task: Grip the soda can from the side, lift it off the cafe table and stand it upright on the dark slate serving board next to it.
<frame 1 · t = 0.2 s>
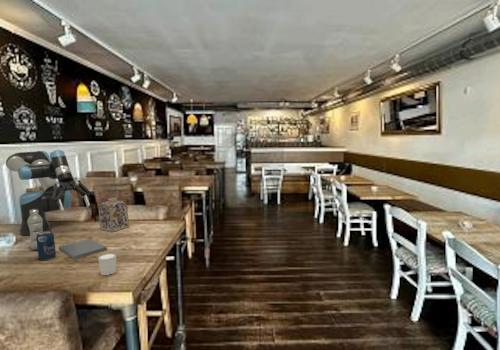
hand: (75, 208, 191), 15 cm above the table, tool tilted 35°, fingers open, 13 cm apart
plastic bottle: (38, 249, 173), on the table
slate board: (82, 249, 170), on the table
soda can: (47, 258, 161), on the table
decorative jar: (114, 228, 205), on the table
shot glass: (108, 273, 142), on the table
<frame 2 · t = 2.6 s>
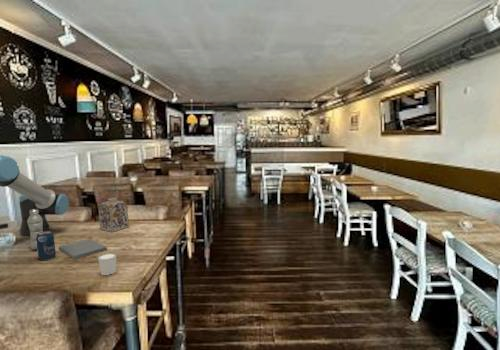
hand: (12, 220, 150), 20 cm above the table, tool horizontal, fingers open, 13 cm apart
nothing on the table moved.
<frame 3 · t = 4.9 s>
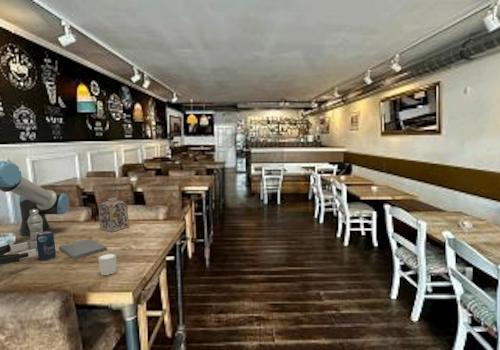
hand: (31, 248, 156), 6 cm above the table, tool horizontal, fingers open, 13 cm apart
nothing on the table moved.
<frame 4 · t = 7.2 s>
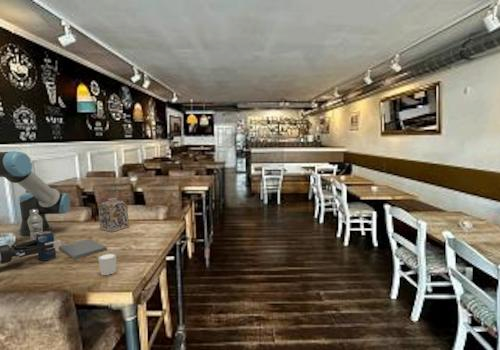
hand: (57, 241, 164), 7 cm above the table, tool horizontal, fingers closed on soda can, 7 cm apart
soda can: (47, 258, 161), on the table, touching gripper
everything else where it was.
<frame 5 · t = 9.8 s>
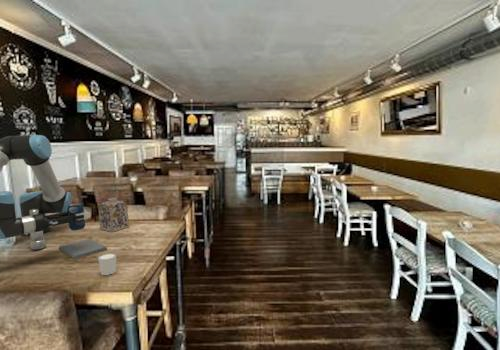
hand: (87, 213, 169), 18 cm above the table, tool horizontal, fingers closed on soda can, 7 cm apart
soda can: (77, 229, 167), point 11 cm above the table, touching gripper
everything else where it was.
when the fingers open (9 cm above the table, at t = 12.8 s): soda can drops 1 cm, resting on slate board.
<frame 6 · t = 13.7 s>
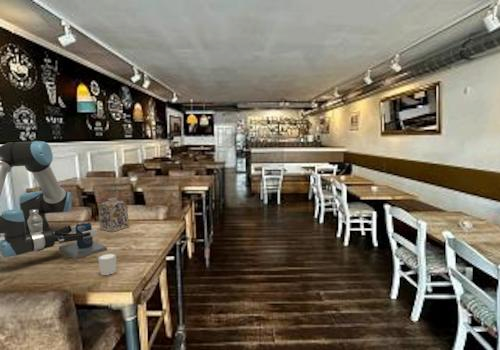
hand: (90, 229, 171), 10 cm above the table, tool horizontal, fingers open, 13 cm apart
soda can: (85, 247, 170), point 1 cm above the table, touching slate board
everything else where it was.
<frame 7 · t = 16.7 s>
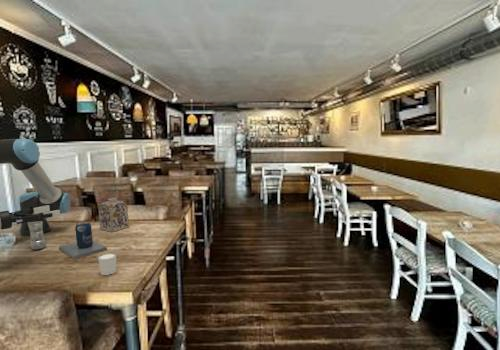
hand: (54, 210, 160), 22 cm above the table, tool horizontal, fingers open, 13 cm apart
nothing on the table moved.
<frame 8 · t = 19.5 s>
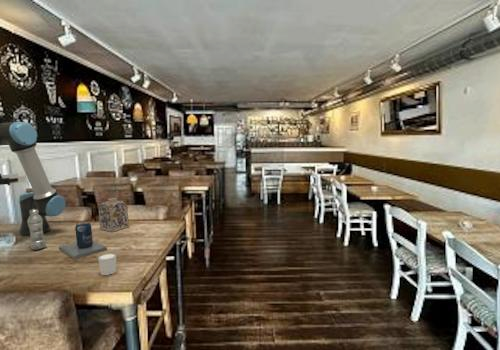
hand: (21, 177, 168), 36 cm above the table, tool horizontal, fingers open, 13 cm apart
nothing on the table moved.
at the end: soda can inside the target area on the slate board (1.2 cm from its centre), point 1.3 cm above the slate board's base; soda can tilted 0°; the gripper is holding nothing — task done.
